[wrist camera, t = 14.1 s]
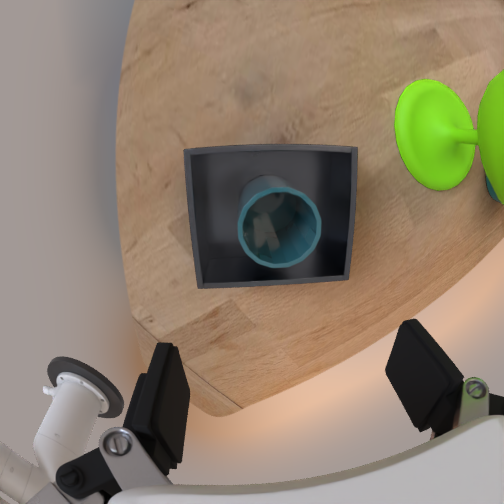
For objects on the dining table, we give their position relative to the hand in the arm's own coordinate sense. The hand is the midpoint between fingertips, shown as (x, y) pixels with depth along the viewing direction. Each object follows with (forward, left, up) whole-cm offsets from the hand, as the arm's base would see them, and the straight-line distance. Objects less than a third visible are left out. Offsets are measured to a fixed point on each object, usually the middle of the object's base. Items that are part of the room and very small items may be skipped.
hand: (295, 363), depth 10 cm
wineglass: (+25, +12, -23) cm, 36 cm away
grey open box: (+1, +2, -22) cm, 23 cm away
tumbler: (+1, +2, -21) cm, 22 cm away
